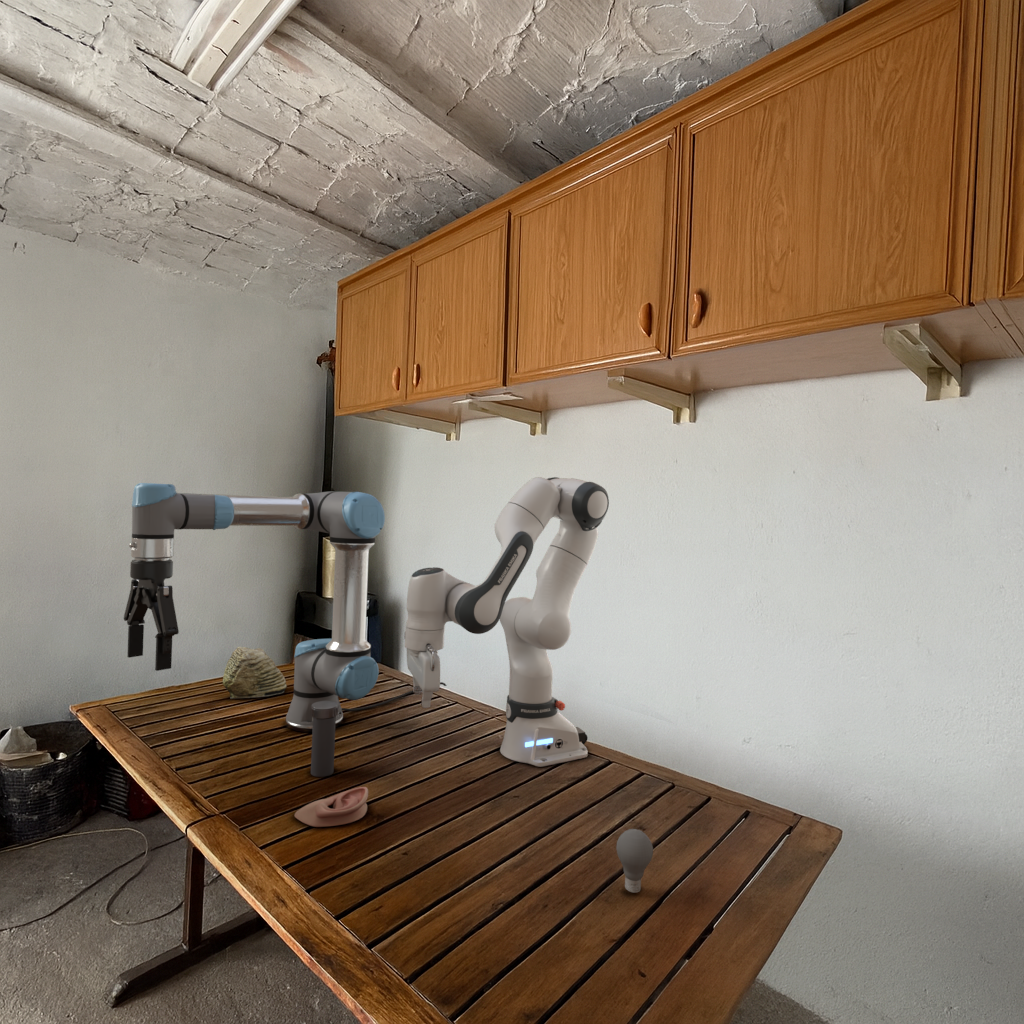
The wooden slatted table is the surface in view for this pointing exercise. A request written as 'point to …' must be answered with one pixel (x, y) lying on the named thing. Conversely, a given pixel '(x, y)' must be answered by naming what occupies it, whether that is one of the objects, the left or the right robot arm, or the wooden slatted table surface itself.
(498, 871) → the wooden slatted table surface
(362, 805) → the anatomical model
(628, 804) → the wooden slatted table surface
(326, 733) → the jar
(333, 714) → the lid
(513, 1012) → the wooden slatted table surface
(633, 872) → the light bulb
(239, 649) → the fossil
